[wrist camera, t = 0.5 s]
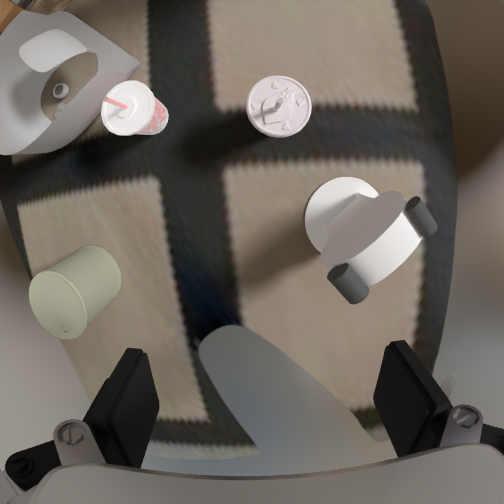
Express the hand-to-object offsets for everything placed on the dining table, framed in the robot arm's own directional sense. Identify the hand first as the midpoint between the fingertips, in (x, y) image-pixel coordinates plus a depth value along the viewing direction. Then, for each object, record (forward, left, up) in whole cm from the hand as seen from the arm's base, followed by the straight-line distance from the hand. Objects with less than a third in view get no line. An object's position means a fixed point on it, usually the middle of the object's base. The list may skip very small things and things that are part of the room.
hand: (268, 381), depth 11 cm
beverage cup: (-1, -20, -31) cm, 36 cm away
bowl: (+3, -35, -31) cm, 46 cm away
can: (+22, -13, -31) cm, 39 cm away
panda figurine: (-8, +8, -31) cm, 33 cm away
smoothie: (-11, -8, -31) cm, 34 cm away
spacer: (-1, -52, -27) cm, 58 cm away
